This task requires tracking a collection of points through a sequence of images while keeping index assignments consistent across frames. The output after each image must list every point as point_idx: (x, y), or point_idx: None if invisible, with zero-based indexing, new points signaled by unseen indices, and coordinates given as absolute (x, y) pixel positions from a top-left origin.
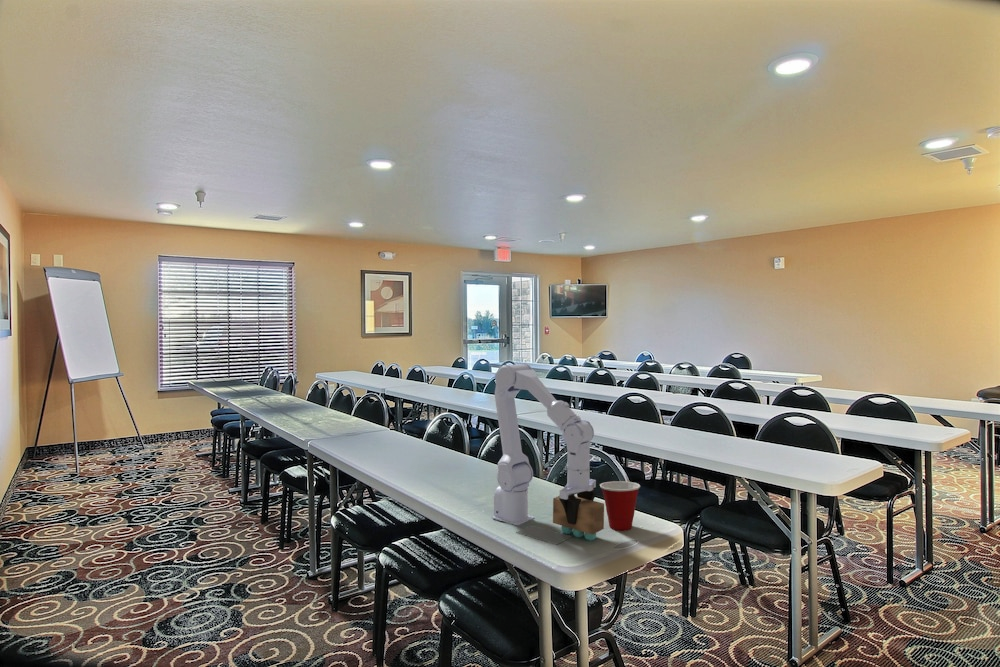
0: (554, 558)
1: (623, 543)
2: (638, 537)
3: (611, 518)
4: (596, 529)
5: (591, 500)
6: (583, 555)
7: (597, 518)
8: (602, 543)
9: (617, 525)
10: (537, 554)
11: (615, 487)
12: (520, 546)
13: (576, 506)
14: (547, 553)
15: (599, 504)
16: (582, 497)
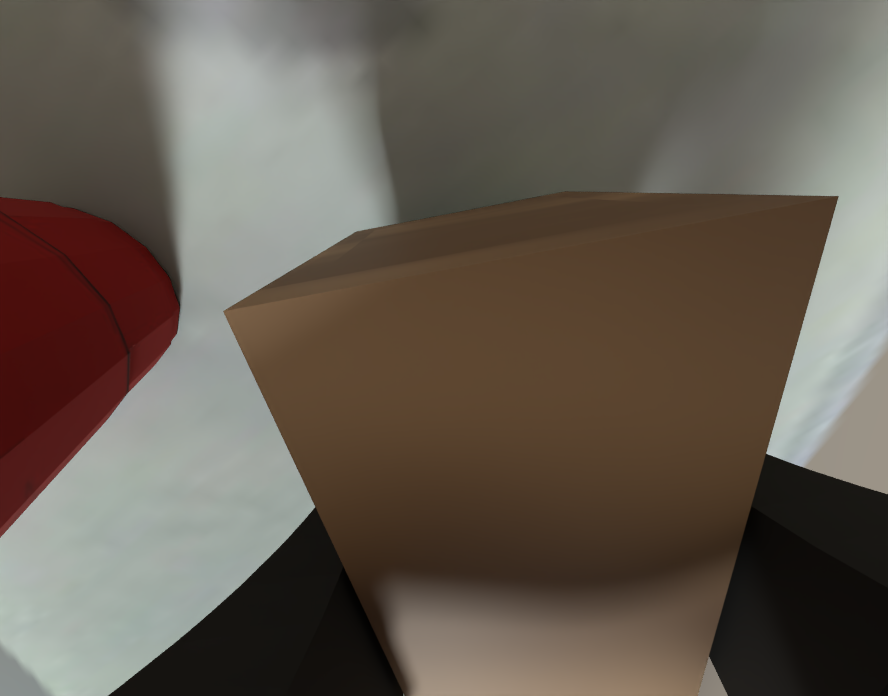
0: (882, 215)
1: (289, 27)
2: (47, 22)
3: (124, 337)
4: (501, 205)
5: (350, 563)
6: (741, 102)
7: (507, 219)
8: (439, 170)
9: (126, 266)
10: (857, 325)
11: None
12: (786, 443)
13: (856, 500)
14: (818, 299)
15: (397, 332)
16: (381, 679)
